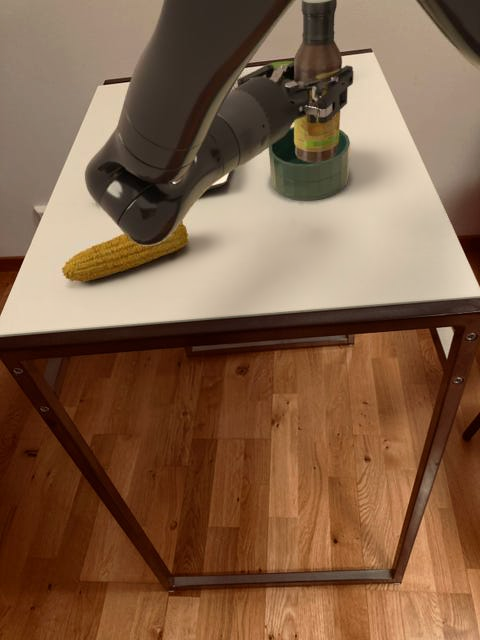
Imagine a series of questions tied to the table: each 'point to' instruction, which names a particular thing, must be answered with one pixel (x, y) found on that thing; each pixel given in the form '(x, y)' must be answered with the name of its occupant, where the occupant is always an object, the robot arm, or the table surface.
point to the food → (119, 256)
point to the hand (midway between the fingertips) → (327, 69)
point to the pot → (308, 170)
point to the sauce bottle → (321, 62)
